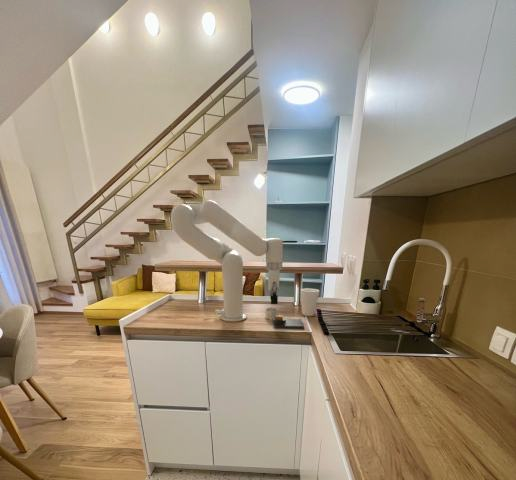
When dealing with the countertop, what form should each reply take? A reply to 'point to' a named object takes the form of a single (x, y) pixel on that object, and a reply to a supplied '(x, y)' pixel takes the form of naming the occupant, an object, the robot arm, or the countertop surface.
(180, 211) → the robot arm
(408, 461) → the countertop surface
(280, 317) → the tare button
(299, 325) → the scale
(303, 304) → the foam cup
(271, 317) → the bowl
